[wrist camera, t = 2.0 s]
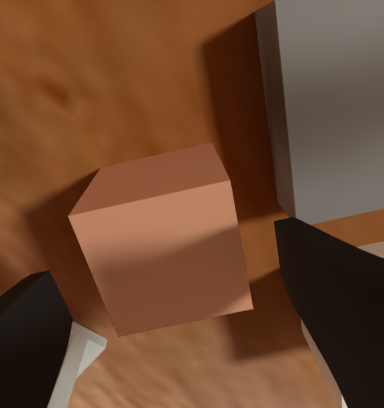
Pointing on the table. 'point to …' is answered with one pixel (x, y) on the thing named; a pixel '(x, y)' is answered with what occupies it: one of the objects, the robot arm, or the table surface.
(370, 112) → the gray slab
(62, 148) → the table surface
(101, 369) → the table surface
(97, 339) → the pale picture frame
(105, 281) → the terracotta cube
